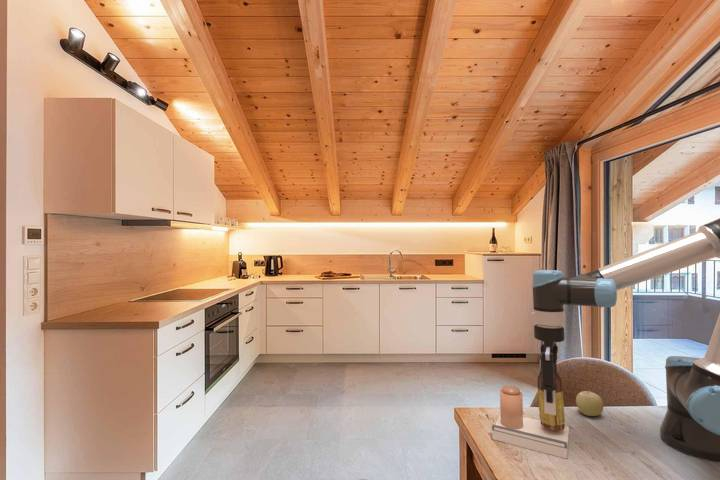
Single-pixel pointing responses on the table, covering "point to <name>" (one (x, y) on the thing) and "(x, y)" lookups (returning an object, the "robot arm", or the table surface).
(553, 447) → the white rectangular box
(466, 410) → the table surface
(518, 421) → the terracotta jar
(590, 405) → the fruit
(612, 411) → the table surface
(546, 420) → the sauce bottle
